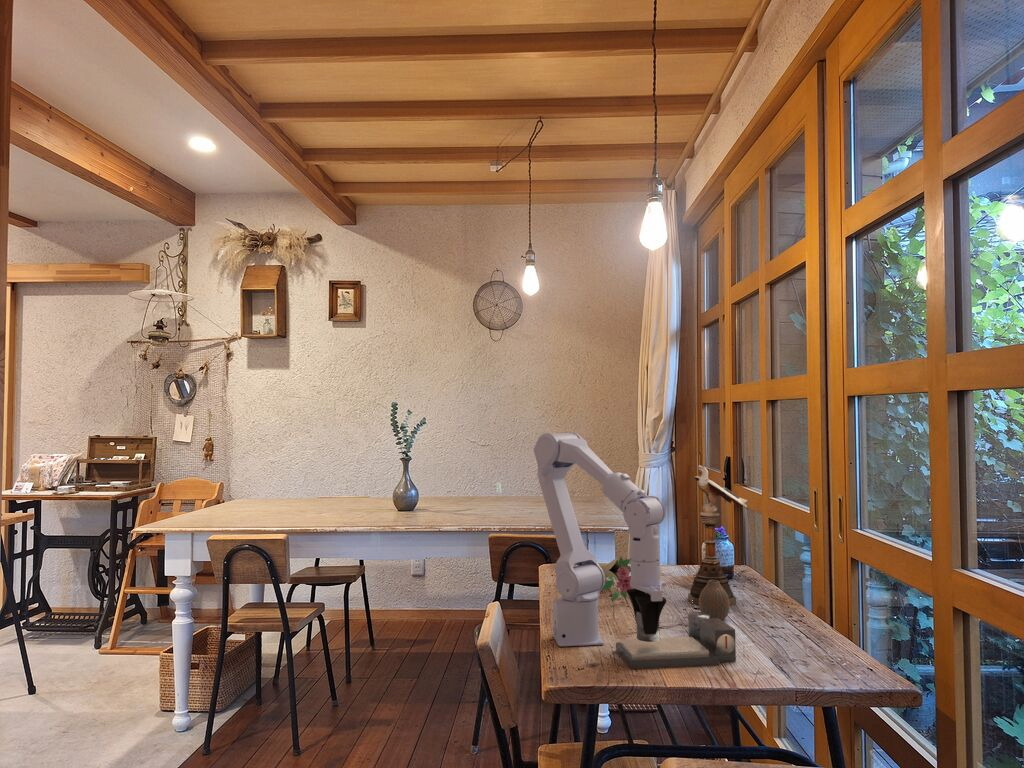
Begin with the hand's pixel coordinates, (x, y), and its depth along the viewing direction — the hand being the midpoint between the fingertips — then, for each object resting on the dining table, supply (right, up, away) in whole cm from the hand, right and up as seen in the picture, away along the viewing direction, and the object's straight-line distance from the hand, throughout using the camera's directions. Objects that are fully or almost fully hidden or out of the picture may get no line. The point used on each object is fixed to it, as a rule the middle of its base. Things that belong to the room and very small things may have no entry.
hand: (646, 630), depth 140 cm
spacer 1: (0, -2, 0) cm, 2 cm away
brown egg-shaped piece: (+21, -7, +27) cm, 35 cm away
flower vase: (+1, -9, +53) cm, 54 cm away
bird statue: (+27, -8, +44) cm, 52 cm away
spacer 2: (+13, -6, +12) cm, 19 cm away
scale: (+6, -5, 0) cm, 8 cm away
